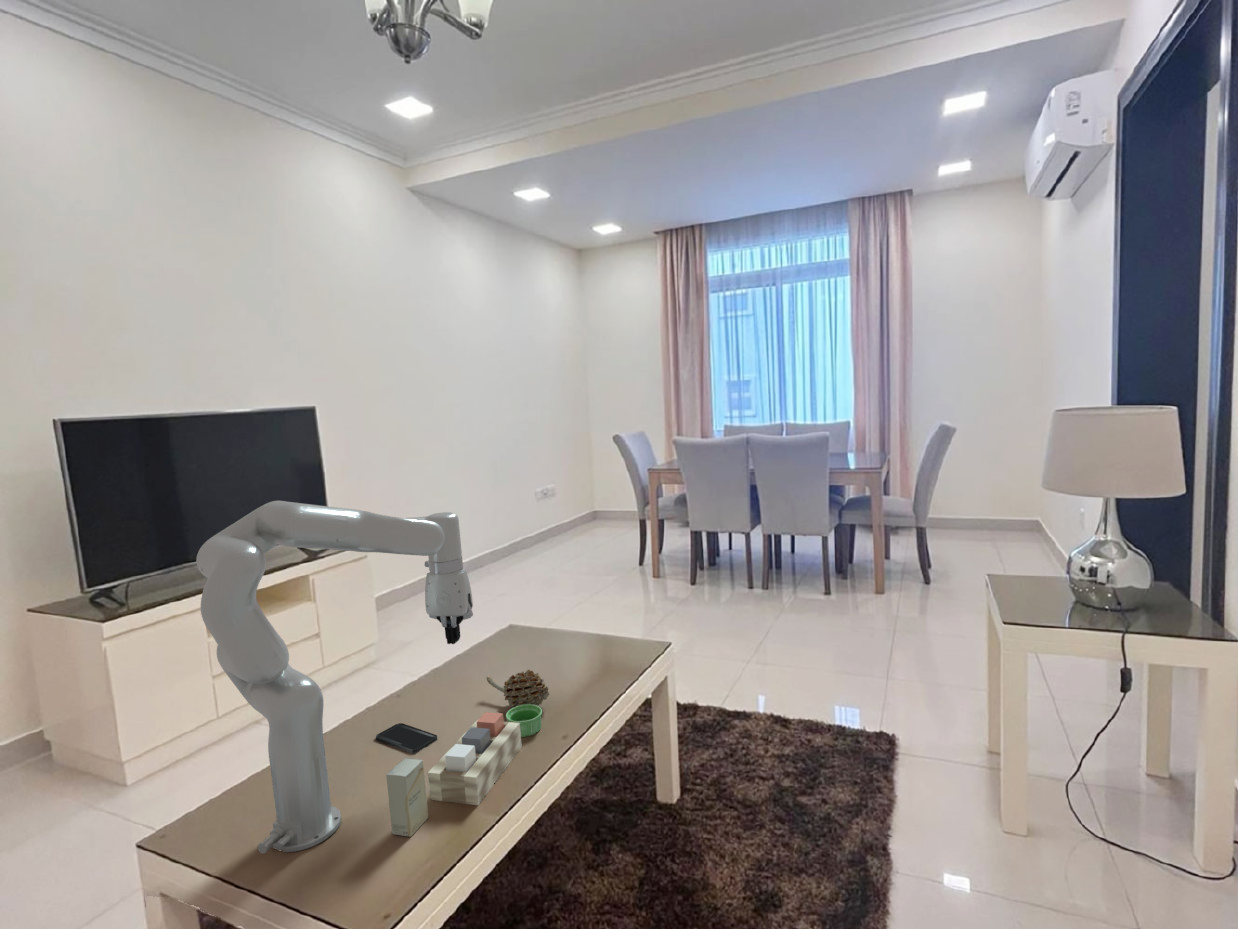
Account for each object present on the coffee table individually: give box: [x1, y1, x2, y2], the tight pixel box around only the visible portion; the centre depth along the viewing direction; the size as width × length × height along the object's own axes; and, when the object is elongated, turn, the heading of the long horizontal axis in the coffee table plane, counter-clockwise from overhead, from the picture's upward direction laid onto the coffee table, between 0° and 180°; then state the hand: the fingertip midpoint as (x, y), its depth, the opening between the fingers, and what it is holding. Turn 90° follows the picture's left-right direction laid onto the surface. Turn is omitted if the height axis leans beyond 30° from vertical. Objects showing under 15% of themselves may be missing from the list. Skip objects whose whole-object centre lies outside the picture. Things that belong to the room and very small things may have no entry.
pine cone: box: [486, 669, 550, 707], centre depth 171 cm, size 22×10×10 cm, turn 62°
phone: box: [375, 722, 438, 755], centre depth 156 cm, size 8×1×15 cm
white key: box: [444, 743, 476, 773], centre depth 133 cm, size 4×4×6 cm
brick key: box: [476, 711, 505, 737], centre depth 147 cm, size 4×4×6 cm
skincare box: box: [385, 757, 429, 837], centre depth 123 cm, size 6×4×12 cm
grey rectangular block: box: [461, 726, 491, 754], centre depth 140 cm, size 4×4×6 cm
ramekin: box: [505, 704, 543, 738], centre depth 158 cm, size 9×9×4 cm
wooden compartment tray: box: [427, 719, 523, 806], centre depth 140 cm, size 22×11×6 cm, turn 165°
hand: (453, 641), depth 149 cm, fingers closed
